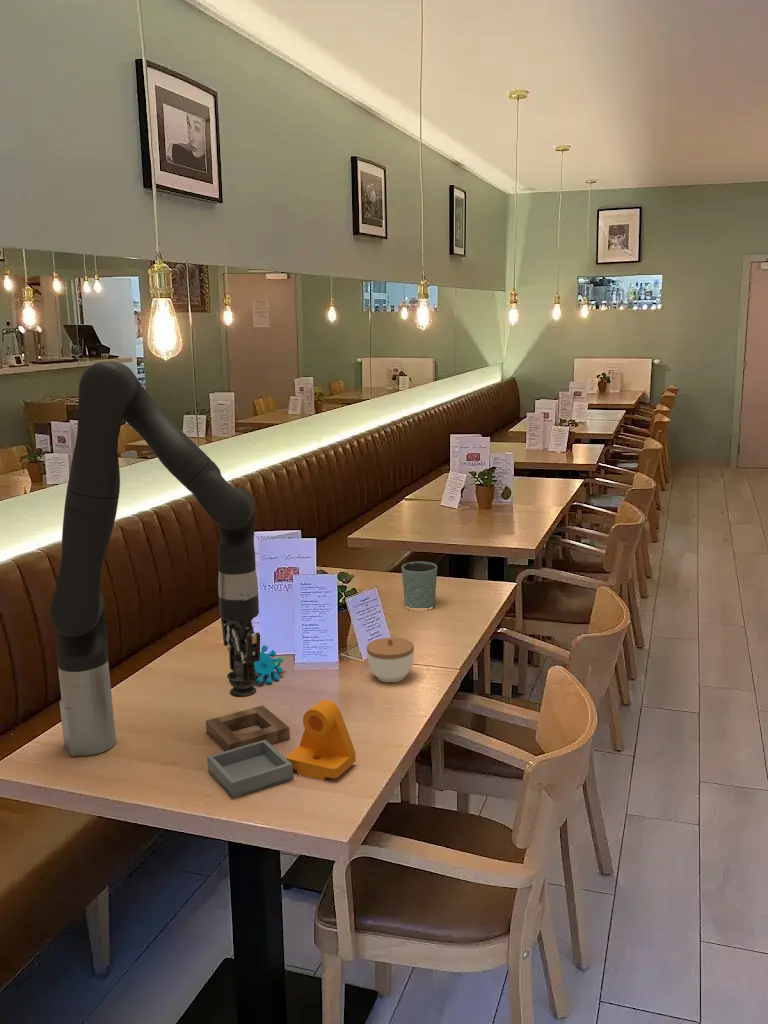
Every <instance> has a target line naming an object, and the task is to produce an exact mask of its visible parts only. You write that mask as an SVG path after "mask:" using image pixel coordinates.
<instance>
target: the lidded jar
mask: <svg viewBox="0 0 768 1024" xmlns="http://www.w3.org/2000/svg"><path fill="white" fill-rule="evenodd" d="M414 650H415V645H414V643H413V642H412V641H410V640H409V639H405V638H400V637H383V638H377V639H375V640H372V641H370V642H368V644H367V645H366V652H367V653H366V654H367V661H368V666H369V668H370V671H371V672H372V674H373V675H374V676H375V677H377V679H378V681H380V682H382V683H386V682H387V683H389V682H394V683H398V682H401V680H402V681H403V680H404V679H405V677H406V676H408V674H409V673H410V671H411V670H412V667H413V663H414V655H415V654H414V653H415V651H414ZM389 684H390V683H389Z"/></svg>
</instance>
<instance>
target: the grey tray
mask: <svg viewBox="0 0 768 1024" xmlns="http://www.w3.org/2000/svg"><path fill="white" fill-rule="evenodd" d="M206 759H207V769H208V770H207V772H208V773H209V774H210V775H211V776H212V778H214V780H215V781H216V782H217V783H218V784H219V786H221V788H223V790H224V791H225V792H226V793H227V794H228V795H229V796H230V797H231V799H233V800H234V799H237V798H240V797H243V796H246V795H250V794H252V793H255V792H258V791H262V790H264V789H268V788H271V787H274V786H277V785H281V784H283V783H287V782H289V781H290V782H291V781H292V780H294V769H293V765H292V763H291V762H290V761H288V760H287V757H286V756H284V755H283V754H282V753H281V752H279V750H277V748H275V747H274V745H273V744H272V745H271V744H270V743H269V742H267V741H266V740H262V741H259V742H255V743H252V744H248V745H245V746H241V747H238V748H235V749H231V750H228V751H224V750H223V751H221V752H219V753H215V754H210V755H208V756H207V757H206Z"/></svg>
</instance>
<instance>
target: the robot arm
mask: <svg viewBox="0 0 768 1024" xmlns="http://www.w3.org/2000/svg"><path fill="white" fill-rule="evenodd" d="M77 401H78V405H77V406H78V407H77V429H76V430H77V431H76V438H75V444H74V450H73V454H72V459H71V464H70V470H69V475H68V480H67V481H68V482H67V487H66V495H65V501H64V506H63V507H64V508H63V509H64V510H63V518H62V532H61V533H62V534H61V558H60V565H59V570H58V575H57V578H56V584H55V586H54V591H53V593H52V599H51V601H50V604H49V608H48V615H49V619H50V622H51V624H52V626H53V628H54V629H55V630H56V635H57V637H56V641H57V643H56V644H57V646H56V662H57V669H58V679H59V681H58V682H59V688H60V697H61V699H60V700H59V709H60V711H59V712H60V718H61V728H62V735H63V737H62V738H63V744H64V745H63V746H64V747H65V749H66V750H67V752H68V754H69V755H70V757H71V758H73V757H79V756H81V757H85V756H93V755H98V754H102V753H104V752H107V751H108V750H110V749H112V748H113V747H114V746H115V745H116V743H117V733H116V732H117V731H116V727H115V726H116V724H115V716H114V706H113V705H114V704H113V696H112V687H111V677H110V676H111V675H110V666H109V665H110V664H109V656H108V655H109V654H108V630H107V629H108V628H107V619H106V607H105V606H106V605H105V599H104V595H103V593H102V590H101V578H102V570H103V564H104V561H105V556H106V554H107V550H108V547H109V544H110V541H111V538H112V534H113V530H114V525H115V522H116V517H117V511H118V505H119V497H120V490H121V489H120V488H121V473H120V472H121V471H120V470H121V469H120V463H119V462H120V461H119V451H118V450H119V447H118V446H119V438H120V432H121V426H122V422H123V421H124V422H125V423H127V424H128V425H129V426H130V427H131V428H132V429H133V430H135V432H137V434H138V435H139V436H140V437H141V438H142V439H143V440H144V441H145V442H146V444H147V445H148V447H149V448H150V449H151V451H152V452H153V453H154V455H155V456H156V457H157V459H158V460H159V461H160V463H161V464H162V465H163V466H164V467H165V469H166V470H167V471H168V472H169V473H170V474H171V475H172V476H173V477H174V478H175V479H176V480H177V481H179V483H180V484H181V485H183V486H184V487H185V488H186V489H187V490H188V491H189V492H190V493H191V494H192V495H193V496H194V498H195V499H196V501H197V502H198V503H199V505H201V507H202V508H203V509H204V511H205V512H206V513H207V515H208V516H209V517H210V518H211V519H212V520H213V522H215V523H216V524H217V525H218V526H219V532H220V534H219V535H220V539H219V543H218V546H217V562H218V563H217V564H218V565H217V566H218V577H217V578H218V579H217V587H218V593H217V594H218V607H219V609H218V610H219V616H220V620H221V621H220V622H221V629H222V630H221V631H222V639H223V645H224V647H226V648H227V649H226V650H227V652H228V654H229V655H228V656H229V669H230V670H231V671H233V670H234V659H233V658H232V656H233V655H234V641H235V642H236V647H237V651H238V652H240V653H241V658H242V662H243V663H242V671H243V680H244V681H250V680H254V678H255V669H254V662H256V661H260V652H261V633H260V632H255V630H254V626H253V622H252V621H253V619H254V618H256V617H257V616H259V614H260V606H259V605H260V603H259V602H260V601H259V584H258V583H259V581H258V576H257V568H256V567H257V565H256V551H255V550H256V549H255V530H256V529H255V528H256V506H255V500H254V498H253V495H252V494H251V493H250V492H249V491H248V490H247V489H245V488H242V487H239V486H238V487H235V486H234V487H232V485H231V484H230V483H229V482H228V481H227V480H226V479H225V478H224V477H223V476H222V472H221V468H219V466H218V465H217V464H216V463H215V462H214V461H213V460H212V459H211V458H210V457H209V456H208V455H207V454H206V453H205V452H204V451H203V450H202V449H201V448H200V447H199V446H198V445H197V444H196V443H195V442H194V441H193V440H192V439H191V438H190V437H189V436H188V435H186V433H184V431H182V430H181V428H179V427H178V426H177V425H176V424H175V423H174V422H173V421H172V420H171V419H170V418H169V416H167V414H166V413H165V412H164V411H163V410H162V409H161V408H160V407H159V405H158V404H157V403H156V401H154V399H153V398H152V397H151V396H150V394H149V393H148V391H147V390H146V388H145V387H144V386H143V384H142V383H141V381H140V380H139V379H138V378H137V376H136V374H135V373H134V372H133V370H132V369H131V368H129V367H128V366H127V365H125V364H124V363H121V362H118V361H111V360H110V361H100V362H96V363H94V364H93V363H92V364H91V365H89V366H88V368H86V369H85V370H84V372H83V374H81V377H80V379H79V384H78V399H77ZM244 644H246V646H245V647H242V646H241V645H244ZM245 651H246V655H245ZM250 654H251V656H250Z"/></svg>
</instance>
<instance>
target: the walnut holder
mask: <svg viewBox="0 0 768 1024" xmlns="http://www.w3.org/2000/svg"><path fill="white" fill-rule="evenodd" d="M251 725H252V726H254V725H258V726H259V727H260V728H261V729H256V730H254V731H250V732H246V733H242V734H240V735H239V734H238V735H236V734H235V733H234V731H237V730H240V728H241V729H245V728H248V727H251ZM244 727H245V728H244ZM233 730H234V731H233ZM205 731H206V734H207V735H208V736H210V738H211V739H212V740H213V741H214V742H215V743H216V742H217V743H218V744H219V745H220V746H221V747H222V748H223V749H224V750H223V749H222V748H221V747H220V746H219V745H218V744H217V743H216V744H217V745H218V746H219V747H220V748H221V749H222V750H223V752H224V751H228V750H231V749H235V748H238V747H241V746H245V745H248V744H252V743H255V742H259V741H262V740H266V741H267V742H269V743H270V744H271V745H272V746H273V745H275V744H277V743H280V742H285V741H288V740H290V739H291V736H290V734H291V733H290V727H289V725H287V724H286V723H284V722H283V721H282V720H281V719H280V718H279V717H277V716H276V715H275V714H274V713H273V712H271V711H270V710H269V709H268V708H267V707H266V706H264V705H263V704H262V705H259V706H255V707H251V708H248V709H244V710H240V711H237V712H233V713H229V714H225V715H223V716H222V715H221V716H218V717H215V718H210V719H207V720H205Z"/></svg>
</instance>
